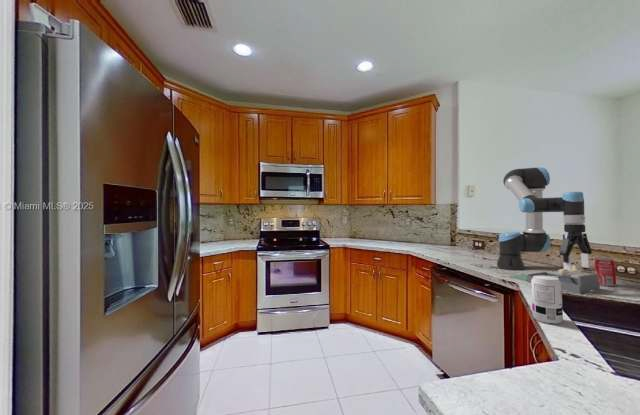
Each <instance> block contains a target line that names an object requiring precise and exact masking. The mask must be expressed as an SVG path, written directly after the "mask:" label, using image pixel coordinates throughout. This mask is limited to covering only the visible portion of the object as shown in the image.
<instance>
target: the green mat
mask: <svg viewBox="0 0 640 415" xmlns="http://www.w3.org/2000/svg"><path fill="white" fill-rule="evenodd" d="M527 275H528V274H524V273H521V274H516V275H509V276H508V278H510V277H511V278H510V279H514V278H515V280H520V281H525V282H527Z"/></svg>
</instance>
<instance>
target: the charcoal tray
mask: <svg viewBox="0 0 640 415" xmlns="http://www.w3.org/2000/svg"><path fill="white" fill-rule="evenodd" d="M526 275H527V281H526V282H527V283H530V284H531V280H532V278H533V276H535V275H545V276H558V275H559V274H557V273H550V272H547V271H540V272H535V273H528V274H526ZM559 281H560V282H561V286H562V291H566V292H571V293H576V294H584V293H588V292H587V291H590V292H592V291H591V290H595V291H599V290H598V289H600V286H601V285H600V282H598V274H597V273H595V272H594V273H591V274H584V275H579V276H577V277H574V276H570V277H564V278H559Z"/></svg>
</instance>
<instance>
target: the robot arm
mask: <svg viewBox="0 0 640 415" xmlns="http://www.w3.org/2000/svg"><path fill="white" fill-rule="evenodd" d="M550 181H551V177H550V173H549V171H548V170H547V169H546V168H545V167H527V168H526V167H525V168H516V169H511V170H510V171H508V172H507V173H506V174H505V175H504V177H503V180H502V182H503V186H504V187H505V188H506V189H508V190H510V192H512V193H513V195H514V196H515V198H516V199H517V200H518V201H519V202H518V208H519V211H520V212H522V213H525V229H523V230H522V233H520V232H519V231H509V232H508V231H507V232H502V233H499V235H498V250H499V252H498V253H499V256H498V259H497V262H496V267H497V268H498V267H499V269H502V270H509V271H510V270H511V271H512V270H513V271H521V270H522V271H523V270H525V269H526V266H525V262H524V261H523V258H522V256H521V253H537V254H538V253H545V252H547V251H548V250H549V249H550V246H551V237H550V235H549V234H547V232H546V230H544V229H543V228H544V226H543V220H544V218H543V213H563V223H564V225H563V229H564V232H565V233H566V234H563V235H562V241H561V246H560V249H559V252H558V253H559V255H560V256H562V259H563V260H562V261H563V268H564V269H567V270H572V269H571V266H572V256H571V252H572V250H573V248H574V246H575V245H577V246H578V249H580V252H581V253H580V262H581V263H580V266H581V267H582V268H588V269H589V268H590V255H592V251H593V250H592V248H591V244H590V242H589V239H588V235H587V233H586V225H585V222H586V220H585V219H586V216H585V198H584V192H582V191H568V192H565V191H564V192H563V193H562V196H561V197H543V192H544V190H545V189H546V186H549V184H550Z"/></svg>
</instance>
